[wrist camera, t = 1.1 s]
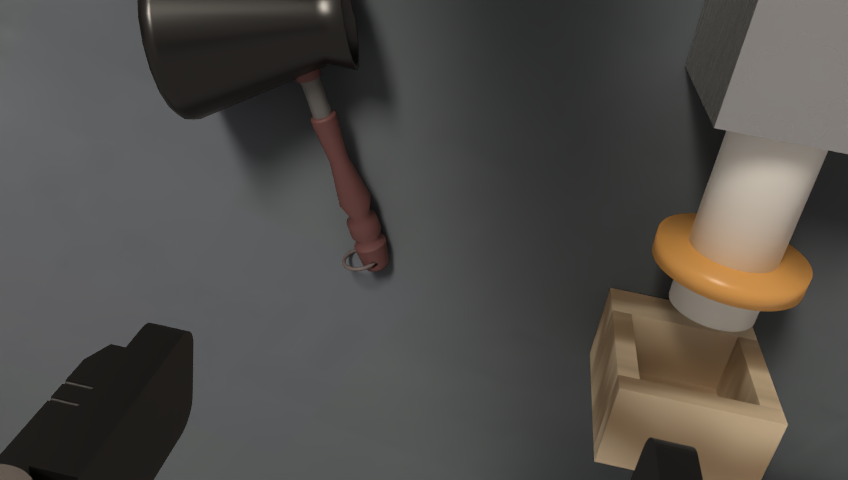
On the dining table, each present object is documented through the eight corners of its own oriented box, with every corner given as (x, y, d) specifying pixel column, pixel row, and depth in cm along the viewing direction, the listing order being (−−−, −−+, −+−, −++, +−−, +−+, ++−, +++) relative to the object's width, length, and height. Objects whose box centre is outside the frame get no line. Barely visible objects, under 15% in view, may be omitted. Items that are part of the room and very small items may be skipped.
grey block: (727, -69, 35) (771, -37, 27) (892, -40, 34) (982, 1, 27) (685, 65, 37) (714, 128, 30) (836, 94, 37) (903, 164, 30)
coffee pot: (162, -65, 38) (339, -90, 38) (256, 243, 48) (396, 226, 48) (115, -17, 32) (325, -47, 31) (234, 325, 42) (395, 306, 42)
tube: (762, -143, 32) (806, -133, 26) (937, -113, 31) (1023, -96, 25) (634, 256, 41) (645, 331, 35) (768, 283, 40) (803, 365, 34)
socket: (610, 287, 44) (619, 388, 36) (748, 316, 43) (787, 425, 35) (589, 353, 46) (594, 461, 38) (721, 381, 45) (752, 497, 38)
